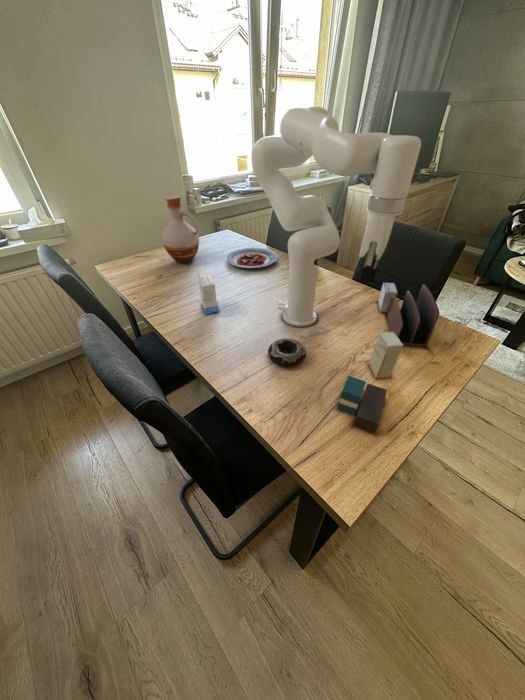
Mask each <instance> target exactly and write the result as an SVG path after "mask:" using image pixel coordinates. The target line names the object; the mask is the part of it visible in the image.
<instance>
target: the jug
mask: <svg viewBox="0 0 525 700" xmlns="http://www.w3.org/2000/svg"><path fill="white" fill-rule="evenodd" d="M181 199H182V198H181V195H172V196H168V197H167V196H166V198H165V201H166V203H167V204H166V206H167V208H168V210H169V213H170V216H171V220H170V222H169V223H168V225H167V226H166V227H165V229H164V231H163V232H162V235H161V241H162V245H163V247H164V250H165V251H166V252H167V254H168V256H170V257H171V258H172V259H173V260H174V261H175V262H177V263H178V264H189V263H191V262H192V261H193V260H194V258H195V257H196V255H197V253H198V251H199V246H200V237H199V233H200V226H199V222H198V221H197V220H196V218H195V217H194V216H193V215H192V214H190V213H189V212H186V211H183V212H182V206H183V205H182V203H181ZM185 216H186V217H188V218H189V219H190V220H191V221H192V222H193V224H194V225H195V228H194V227H193V226H191V225H190V224H189V223H188V222H187V221H185V220H184V218H183V217H185Z"/></svg>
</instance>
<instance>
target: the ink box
mask: <svg viewBox="0 0 525 700" xmlns="http://www.w3.org/2000/svg"><path fill="white" fill-rule="evenodd" d="M196 273H197V280H198V287H199V288H198V289H199V293H200V300H201V301H200V302H201V305H202V308H203V310H204V313H205V315H209V314H214V313H218V312H219V311H218V303H217V302H218V301H217V291H216V284H215V282H214V280H213V277H211V275H206V276H201V274H200V273H199V271H198V270H196Z"/></svg>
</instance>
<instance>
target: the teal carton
mask: <svg viewBox="0 0 525 700" xmlns="http://www.w3.org/2000/svg"><path fill="white" fill-rule="evenodd" d="M366 384H367V381H366V380H363V379H360V378H357V377H354V376H351V375H348V376H347V378H346V380H345V383H344V385H343V388H342V390H341V393H340V396H339V397H340V398H339V401H338V405H337V410H338V411H341V412H343V413H346V414H349V415H351V416H355V417H356V414H357V412H358V409H359V406H360V403H361V400H362V397H363V394H364V391H365V387H366Z"/></svg>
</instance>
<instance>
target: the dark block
mask: <svg viewBox="0 0 525 700" xmlns="http://www.w3.org/2000/svg"><path fill="white" fill-rule="evenodd" d="M387 391H388V389H386V388H383V387H380V386H377V385H374V384H371V383H368V382H366V385H365V388H364V391H363V394H362V397H361V400H360V403H359V406H358V409H357V412H356V415H355V419H354V422H353V424H352V427H355V428H358V429H360V430H363V431H365V432H368V433H370V434H373V435H375V433H376V430H377V428H378V427H379V423H380V419H381V414H382V410H383V407H384V403H385V399H386V396H387Z"/></svg>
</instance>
